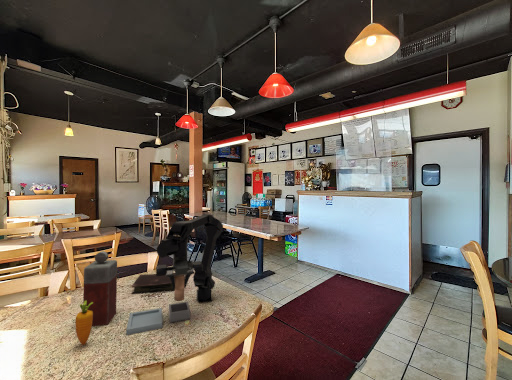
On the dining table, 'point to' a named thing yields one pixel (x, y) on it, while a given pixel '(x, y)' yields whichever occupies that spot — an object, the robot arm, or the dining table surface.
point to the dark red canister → (101, 288)
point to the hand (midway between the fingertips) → (179, 288)
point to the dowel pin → (179, 287)
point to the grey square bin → (179, 312)
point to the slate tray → (144, 321)
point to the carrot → (84, 323)
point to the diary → (152, 284)
